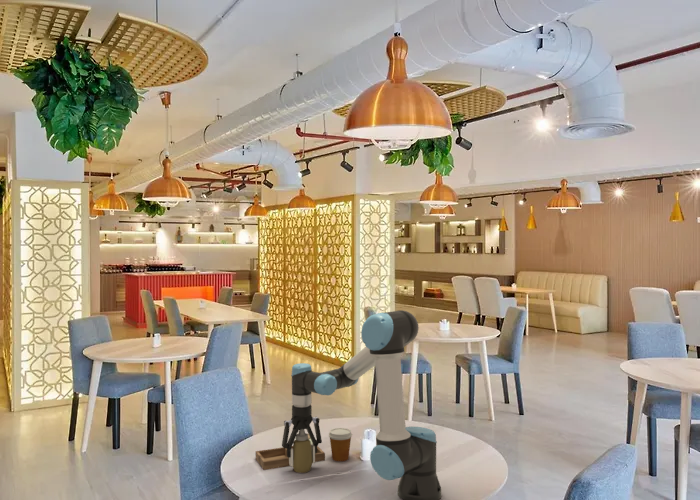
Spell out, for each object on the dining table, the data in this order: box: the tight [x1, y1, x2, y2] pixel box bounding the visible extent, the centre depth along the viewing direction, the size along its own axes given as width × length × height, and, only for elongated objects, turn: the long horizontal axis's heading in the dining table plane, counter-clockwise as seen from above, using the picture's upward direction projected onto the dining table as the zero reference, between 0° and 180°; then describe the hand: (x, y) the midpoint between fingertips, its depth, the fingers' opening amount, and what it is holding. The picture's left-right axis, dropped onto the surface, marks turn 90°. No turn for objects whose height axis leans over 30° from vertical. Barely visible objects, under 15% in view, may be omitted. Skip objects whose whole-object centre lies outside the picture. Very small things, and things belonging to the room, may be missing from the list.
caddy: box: [255, 445, 326, 471], centre depth 239 cm, size 13×25×4 cm, turn 113°
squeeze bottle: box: [292, 429, 314, 474], centre depth 228 cm, size 8×8×18 cm
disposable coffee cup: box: [328, 427, 353, 462], centre depth 240 cm, size 10×10×12 cm
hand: (302, 463), depth 228 cm, fingers closed on squeeze bottle, 8 cm apart
